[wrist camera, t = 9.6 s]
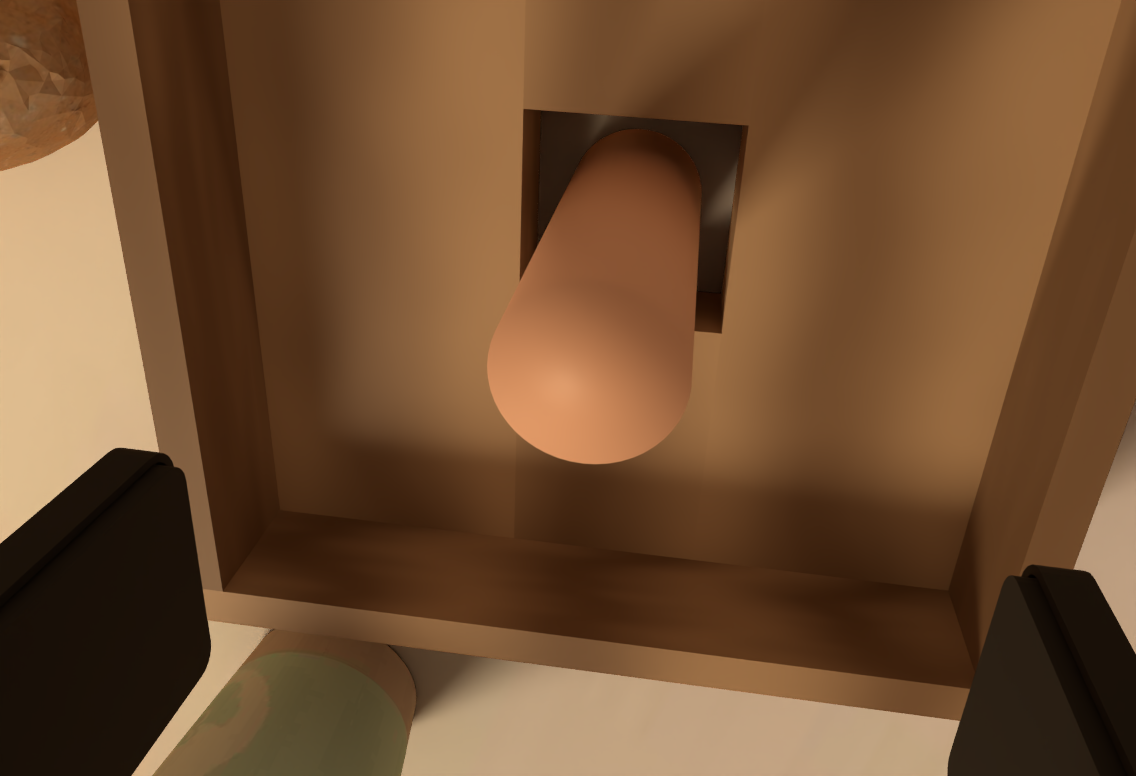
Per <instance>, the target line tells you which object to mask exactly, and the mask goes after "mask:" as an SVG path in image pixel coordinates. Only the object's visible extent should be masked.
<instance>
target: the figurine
mask: <svg viewBox="0 0 1136 776" xmlns="http://www.w3.org/2000/svg"><path fill="white" fill-rule="evenodd" d="M97 121H98V116H97V110H96V105H95V100H94V94H93V89H92V83H91V78H90V72H89V67H88V62H87V56H86V51H85V45H84V40H83V34H82V29H81V23H80V18H79V13H78V7H77V2H76V0H0V171H3V170H7V169H10V168H13V167H17V166H20V165H23V164H27V163H30V162H33V161H36V160H38V159H40V158H43V157H45V156H47V155H49V154H51V153H53V152H55V151H57V150H58V149H60V148H62V147H64V146H66V145H68V144H69V143H71V142H73V141H75V140H76V139H78V138H79V137H81V136H82V135H84V134H85V133H86V132H87V131H88V130H89V129H90V128H91V127H92V126H93V125H94V124H95V123H96V122H97Z"/></svg>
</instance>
